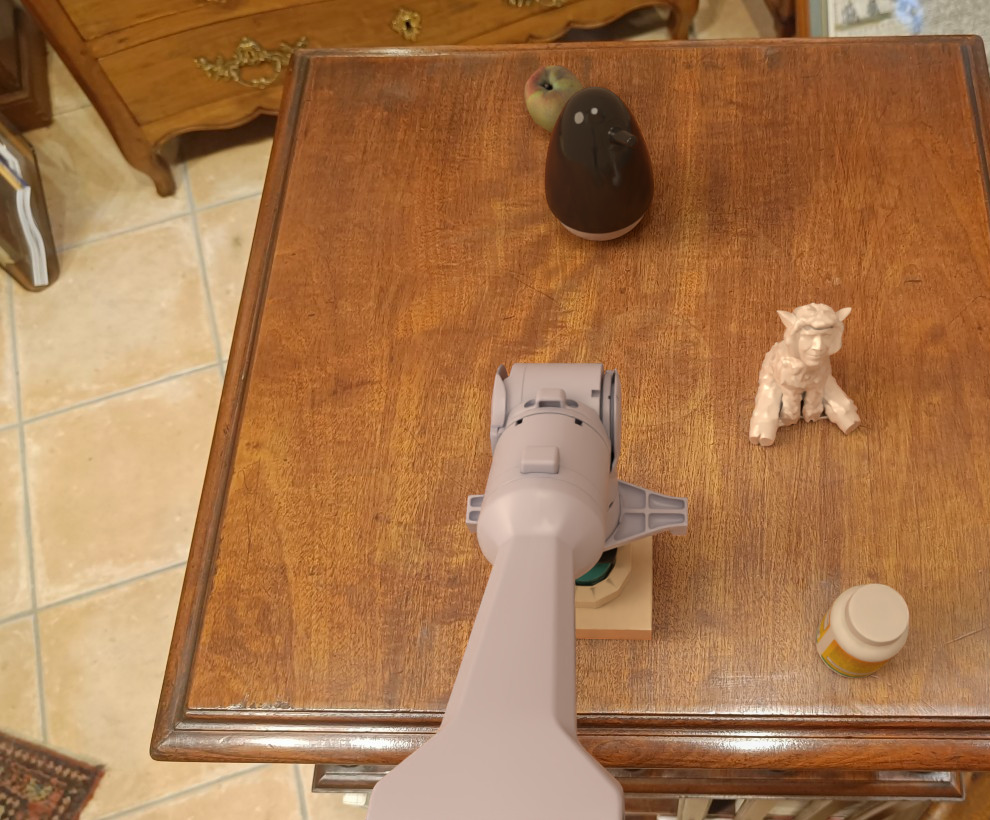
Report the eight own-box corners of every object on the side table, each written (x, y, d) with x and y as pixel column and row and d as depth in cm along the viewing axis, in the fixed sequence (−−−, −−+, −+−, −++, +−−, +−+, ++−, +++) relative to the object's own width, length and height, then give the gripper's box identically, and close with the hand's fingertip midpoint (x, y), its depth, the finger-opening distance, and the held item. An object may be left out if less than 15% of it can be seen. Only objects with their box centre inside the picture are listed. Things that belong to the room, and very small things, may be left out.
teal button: (612, 588, 69) (611, 581, 67) (558, 587, 69) (556, 580, 68) (613, 537, 71) (612, 529, 69) (561, 536, 71) (559, 528, 69)
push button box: (651, 640, 71) (652, 624, 66) (522, 637, 71) (513, 621, 67) (652, 517, 75) (652, 494, 71) (530, 515, 76) (523, 492, 71)
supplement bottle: (805, 617, 71) (826, 581, 62) (871, 602, 71) (902, 564, 63) (828, 688, 68) (853, 660, 60) (897, 671, 69) (932, 641, 60)
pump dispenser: (594, 277, 86) (584, 165, 73) (528, 211, 90) (507, 92, 77) (677, 220, 89) (682, 101, 75) (609, 158, 93) (602, 35, 79)
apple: (589, 89, 97) (586, 44, 92) (583, 146, 94) (579, 103, 88) (533, 87, 98) (527, 42, 92) (524, 145, 94) (517, 101, 89)
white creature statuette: (749, 452, 77) (765, 383, 67) (727, 364, 81) (739, 286, 71) (860, 434, 78) (893, 363, 67) (832, 348, 82) (860, 267, 71)
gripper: (689, 426, 58) (682, 504, 70) (460, 424, 59) (492, 502, 71) (691, 533, 55) (683, 596, 67) (448, 530, 55) (484, 593, 67)
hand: (585, 554), depth 68 cm, fingers closed, pressing on teal button
